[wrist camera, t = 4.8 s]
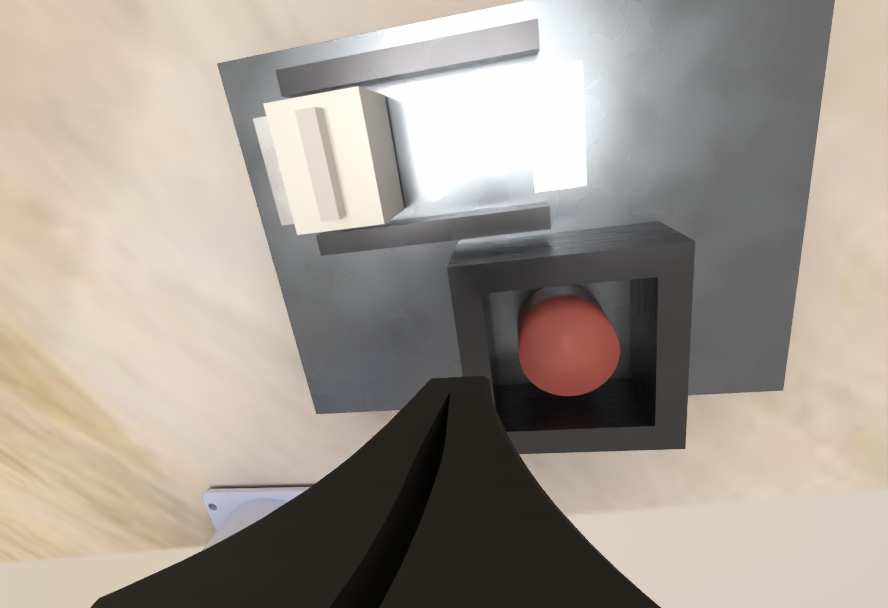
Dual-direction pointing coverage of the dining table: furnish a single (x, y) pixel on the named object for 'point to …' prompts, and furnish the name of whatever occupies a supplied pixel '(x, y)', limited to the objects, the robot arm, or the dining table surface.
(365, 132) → the sliding toggle
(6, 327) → the dining table surface
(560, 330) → the button
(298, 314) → the panel
